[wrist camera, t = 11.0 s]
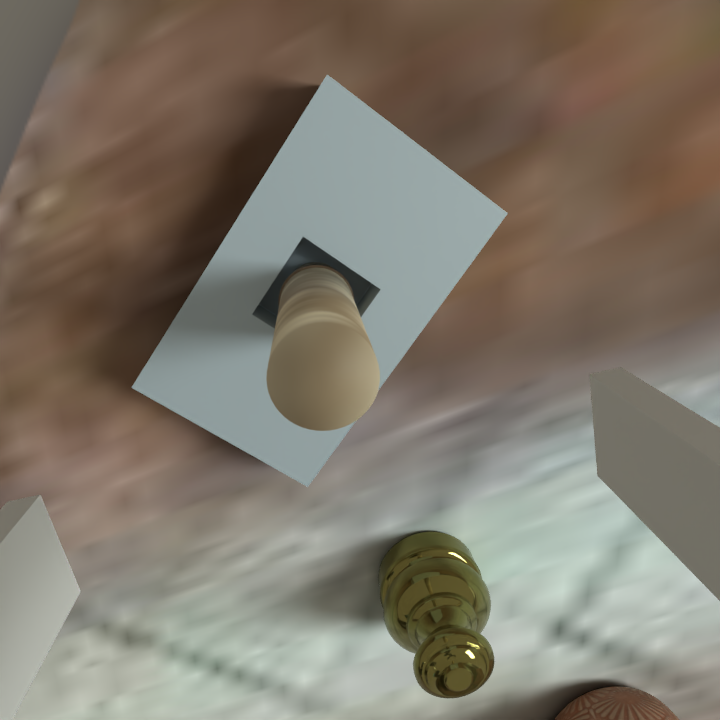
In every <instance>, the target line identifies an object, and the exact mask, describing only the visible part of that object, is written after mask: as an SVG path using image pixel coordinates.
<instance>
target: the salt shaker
mask: <svg viewBox="0 0 720 720" xmlns="http://www.w3.org/2000/svg"><path fill="white" fill-rule="evenodd" d="M378 581H379V588H380V599H381V604H382V607H383V609H384V621H385V625H386V628H387V630H388V632H389V634H390V635H391V637H392V638H393V639H394V641H395V642H396V643H397V644H399V645H400V646H401V647H403V648H404V649H406V650H408V651H410V652H412V653H415V657H414V662H413V669H414V674H415V677H416V680H417V682H418V683H419V685H420V686H421V687H422V688H423V689H424V690H425V691H426V692H428V693H429V694H431V695H433V696H436V697H440V698H458V697H463V696H466V695H468V694H471V693H473V692H474V691H476V690H478V689H479V688H480V687H481V686H482V685H484V684H485V682H486V681H487V680H488V679H489V677H490V675H491V673H492V671H493V668H494V654H493V650H492V647H491V645H490V644H489V642H488V641H487V639H486V638H485V637H484V636H482V635H481V632H482V631H483V629H484V628H485V626H486V624H487V622H488V619H489V615H490V610H491V600H490V594H489V591H488V588H487V586H486V584H485V583H484V581H483V580H482V576H481V573H480V570H479V568H478V566H477V565H476V563H475V561H474V559H473V557H472V554H471V552H470V551H469V549H468V548H467V547H466V546H465V545H464V544H463V543H462V542H461V541H460V540H458V539H457V538H455V537H453V536H451V535H448V534H445V533H440V532H422V533H417V534H414V535H411V536H409V537H407V538H404V539H403V540H401V541H400V542H398V543H397V544H396V545H394V546H393V547H392V548H391V549H390V550H389V551H388V553H387V554H386V555H385V557H384V559H383V561H382V563H381V565H380V569H379V574H378Z"/></svg>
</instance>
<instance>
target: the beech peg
mask: <svg viewBox="0 0 720 720" xmlns="http://www.w3.org/2000/svg"><path fill="white" fill-rule="evenodd" d="M278 305H279V309H278V314H277V320H276V325H275V330H274V336H273V341H272V346H271V352H270V357H269V362H268V368H267V376H266V381H267V388H268V392H269V395H270V398H271V400H272V402H273V404H274V406H275V407H276V408H277V410H278V411H279V412H280V413H281V414H282V415H283V416H284V417H285V418H286V419H288V420H289V421H290V422H292V423H294V424H295V425H298V426H300V427H302V428H306V429H309V430H315V431H330V430H335V429H339V428H342V427H345V426H347V425H349V424H351V423H353V422H355V421H356V420H358V419H359V418H360V417H361V416H363V415H364V414H365V413H366V411H367V410H368V409H369V408H370V406H371V405H372V403H373V402H374V400H375V398H376V395H377V393H378V389H379V383H380V370H379V364H378V361H377V358H376V355H375V353H374V350H373V348H372V345H371V343H370V340H369V337H368V335H367V332H366V330H365V327H364V324H363V322H362V319H361V317H360V314H359V311H358V309H357V306H356V304H355V301H354V295H353V291H352V288H351V286H350V284H349V282H348V281H347V279H346V278H345V277H344V276H343V275H342V274H341V273H340V272H338V271H337V270H335V269H334V268H332V267H331V266H329V265H327V264H324V263H320V262H310V263H306V264H303V265H301V266H300V267H298V268H297V269H296V270H294V271H293V273H292V274H290V275H289V276H288V278H287V279H286V280H285V282H284V283H283V285H282V287H281V290H280V294H279V301H278Z"/></svg>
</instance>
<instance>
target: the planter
mask: <svg viewBox="0 0 720 720" xmlns="http://www.w3.org/2000/svg"><path fill="white" fill-rule="evenodd" d="M555 720H679V719H678V718H677V717H676V716H675V714H674V713H673V712H672V711H671V710H670V709H669V708H668V707H667V706H665V705H664V704H663V703H662V702H661V701H660V700H658V699H657V698H655V697H654V696H652V695H650V694H648V693H646V692H644V691H641V690H638V689H634V688H629V687H606V688H601V689H597V690H593V691H591V692H588V693H586V694H584V695H581V696H580V697H578V698H576V699H575V700H573V701H572V702H570V703H569V704H568V705H567V706H566V707H565V708H564V709H563V710H562V711H561V712H560V713H559V714H558V716H557V717H556V718H555Z"/></svg>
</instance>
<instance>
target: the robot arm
mask: <svg viewBox="0 0 720 720" xmlns="http://www.w3.org/2000/svg"><path fill="white" fill-rule="evenodd" d="M590 387H591V400H592V412H593V425H594V437H595V450H596V463H597V475H598V476H599V478H600V479H601V480H602V481H603V482H604V483H605V484H606V485H607V486H608V487H609V488H610V489H611V490H612V491H613V492H614V493H615V494H616V495H617V496H618V497H619V498H620V499H621V500H622V501H623V502H624V503H625V504H626V505H627V506H628V507H629V508H630V509H631V510H632V511H633V512H634V513H635V514H636V515H637V516H638V517H639V519H640V520H641V521H642V522H643V523H644V524H645V525H646V526H647V527H648V528H649V529H650V530H651V531H652V532H653V533H654V534H655V535H656V536H657V537H658V538H659V539H660V540H661V541H662V542H663V543H664V544H665V545H666V546H667V547H668V548H669V549H670V550H671V551H672V552H673V553H674V554H675V555H676V556H677V557H678V558H679V560H680V561H681V562H682V563H683V564H684V565H685V566H686V567H687V568H688V569H689V570H690V571H691V572H692V573H693V574H694V575H695V576H696V577H697V578H698V579H699V580H700V581H701V582H702V583H703V584H704V585H705V586H706V587H707V588H708V589H709V590H710V591H711V592H712V593H713V594H714V595H715V596H716V597H717V598H718V599H719V600H720V428H719V427H718V426H716V425H714V424H713V423H711V422H709V421H708V420H706V419H704V418H703V417H701V416H700V415H698V414H696V413H695V412H693V411H691V410H690V409H688V408H686V407H685V406H683V405H682V404H680V403H678V402H677V401H675V400H673V399H672V398H670V397H668V396H667V395H665V394H664V393H662V392H660V391H659V390H657V389H655V388H654V387H652V386H650V385H649V384H647V383H645V382H644V381H642V380H641V379H639V378H637V377H636V376H634V375H632V374H631V373H629V372H627V371H626V370H624V369H623V368H621V367H620V368H615V369H611V370H606V371H602V372H597V373H593V374H590ZM80 592H81V591H80V589H79V586H78V584H77V581H76V579H75V577H74V574H73V572H72V569H71V567H70V565H69V562H68V560H67V557H66V555H65V553H64V550H63V548H62V545H61V543H60V541H59V538H58V536H57V533H56V531H55V529H54V526H53V524H52V521H51V519H50V517H49V514H48V512H47V509H46V507H45V505H44V502H43V500H42V497H41V495H36V496H32V497H27V498H23V499H18V500H14V501H9V502H7V503H6V504H5V505H4V506H3V507H2V508H1V510H0V720H13V718H14V716H15V714H16V712H17V710H18V708H19V706H20V705H21V703H22V701H23V699H24V697H25V695H26V693H27V691H28V690H29V688H30V686H31V684H32V682H33V680H34V678H35V676H36V675H37V673H38V671H39V669H40V667H41V665H42V663H43V661H44V659H45V658H46V656H47V654H48V652H49V650H50V648H51V646H52V644H53V643H54V641H55V639H56V637H57V635H58V633H59V631H60V629H61V627H62V626H63V624H64V622H65V620H66V618H67V616H68V614H69V612H70V611H71V609H72V607H73V605H74V603H75V601H76V599H77V597H78V596H79V594H80Z"/></svg>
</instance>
